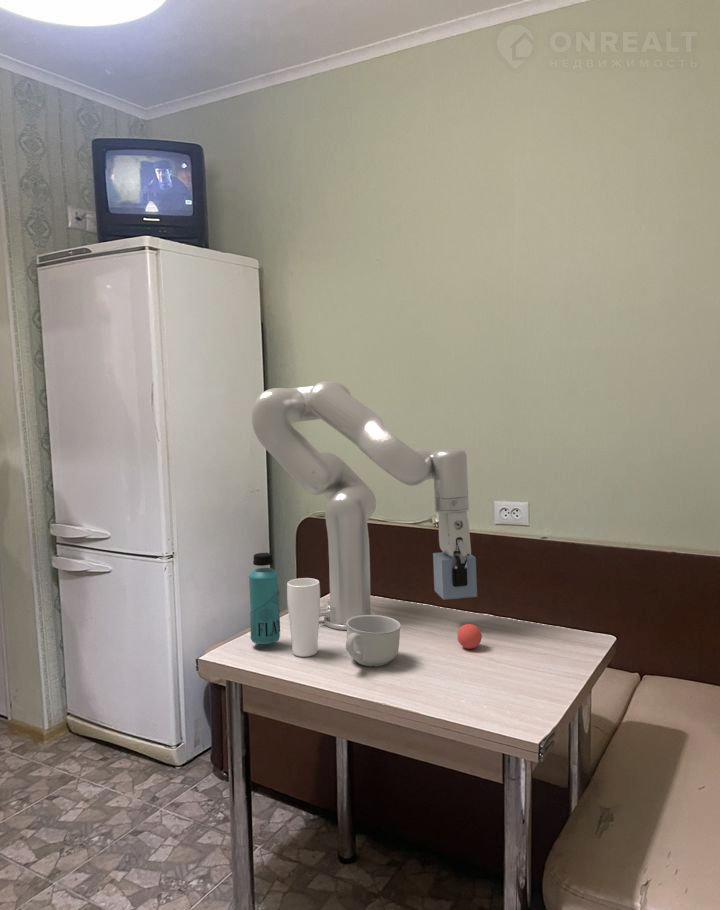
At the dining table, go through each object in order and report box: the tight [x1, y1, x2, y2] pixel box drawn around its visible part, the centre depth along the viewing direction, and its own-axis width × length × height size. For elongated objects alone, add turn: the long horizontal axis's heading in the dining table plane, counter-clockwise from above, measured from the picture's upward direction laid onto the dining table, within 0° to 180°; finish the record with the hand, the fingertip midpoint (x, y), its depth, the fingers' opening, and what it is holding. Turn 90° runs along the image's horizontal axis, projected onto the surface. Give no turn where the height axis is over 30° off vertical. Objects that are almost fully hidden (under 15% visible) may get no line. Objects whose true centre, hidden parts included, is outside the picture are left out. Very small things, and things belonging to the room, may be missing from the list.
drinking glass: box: [286, 577, 321, 658], centre depth 144 cm, size 7×7×15 cm
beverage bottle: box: [248, 552, 281, 645], centre depth 149 cm, size 6×7×20 cm
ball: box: [456, 623, 483, 650], centre depth 146 cm, size 5×5×5 cm
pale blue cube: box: [432, 551, 478, 601], centre depth 158 cm, size 8×8×9 cm
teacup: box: [345, 614, 402, 667], centre depth 138 cm, size 14×11×8 cm
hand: (454, 580), depth 158 cm, fingers closed on pale blue cube, 7 cm apart
